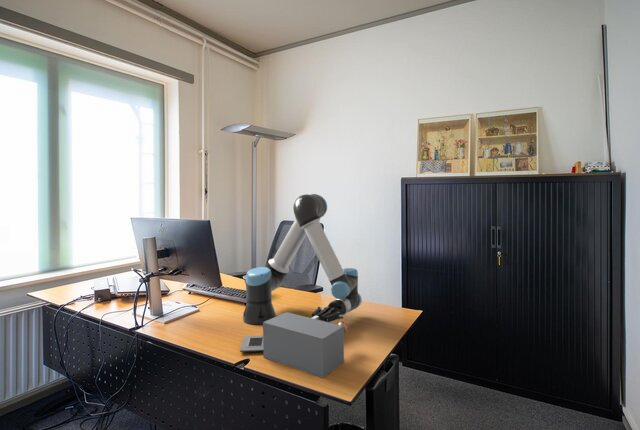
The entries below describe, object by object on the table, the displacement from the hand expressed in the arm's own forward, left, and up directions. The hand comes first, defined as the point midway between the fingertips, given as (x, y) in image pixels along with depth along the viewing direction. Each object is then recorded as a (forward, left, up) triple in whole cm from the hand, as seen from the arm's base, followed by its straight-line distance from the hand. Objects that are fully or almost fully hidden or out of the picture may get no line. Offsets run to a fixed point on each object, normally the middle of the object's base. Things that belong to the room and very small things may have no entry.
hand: (308, 324), depth 140 cm
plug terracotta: (+13, -4, -2) cm, 14 cm away
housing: (+4, -13, -8) cm, 15 cm away
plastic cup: (-59, +46, -8) cm, 75 cm away
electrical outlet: (-18, -10, -9) cm, 22 cm away
